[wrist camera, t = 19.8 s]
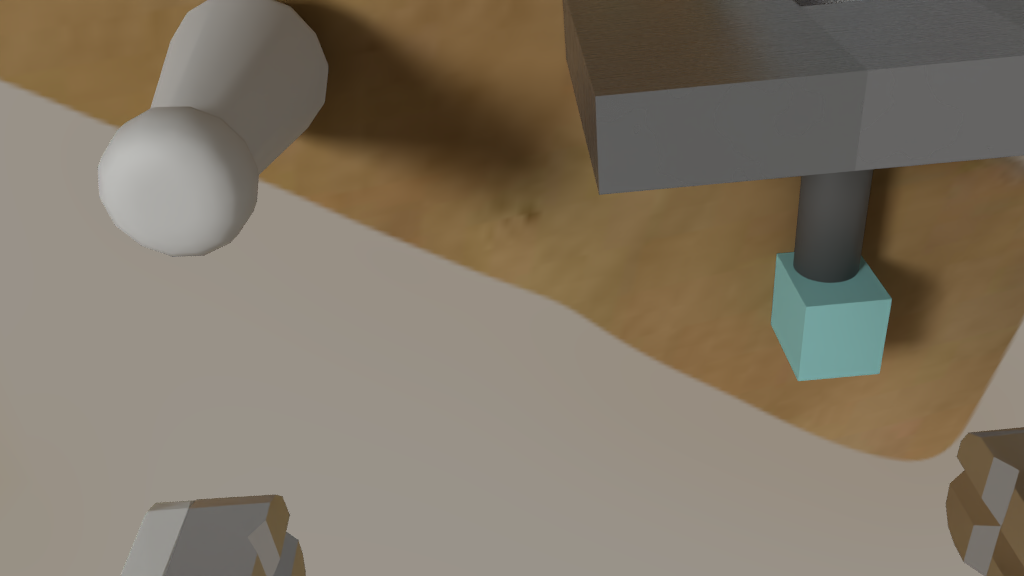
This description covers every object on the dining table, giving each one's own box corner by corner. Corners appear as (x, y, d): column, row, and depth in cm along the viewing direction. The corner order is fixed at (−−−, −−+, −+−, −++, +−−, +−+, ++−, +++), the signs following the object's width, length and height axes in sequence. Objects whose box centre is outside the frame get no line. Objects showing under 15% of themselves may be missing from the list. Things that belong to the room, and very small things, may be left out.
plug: (792, 64, 37) (828, 104, 33) (881, 56, 37) (926, 95, 33) (770, 324, 44) (798, 381, 40) (845, 317, 44) (879, 373, 40)
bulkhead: (562, -17, 35) (595, 96, 24) (1087, -69, 34) (1341, 25, 24) (566, 59, 36) (599, 194, 26) (1067, 10, 36) (1298, 129, 26)
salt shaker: (189, -39, 34) (50, 83, 23) (342, -8, 34) (279, 123, 24) (188, 106, 37) (64, 274, 26) (328, 131, 38) (266, 304, 27)
